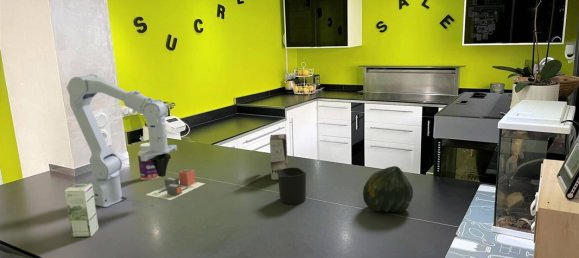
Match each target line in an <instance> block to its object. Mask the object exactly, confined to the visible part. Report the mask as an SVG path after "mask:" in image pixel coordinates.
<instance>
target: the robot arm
mask: <svg viewBox="0 0 579 258" xmlns="http://www.w3.org/2000/svg"><path fill="white" fill-rule="evenodd" d="M66 89H67V92H68V95H69V105H70V108H71V111H72V113H73V115H74V117H75V119H76V122H77V123H78V126H79V128H80V130H81V132H82V134H83V137H84V139H85V141H86V143H87V145H88V148H89V149H90V152H91V156H90V158H89V164H90V168H91V170H90V171H91V174H92V176H93V177H95V178H96V179H94V181H92V182H90V184H92V186H93V193H94V200H95V206H99V207H103V208H107V207H110V206H113V205H115V204H117V203H119V202H122V201H125V200H127V199H128V197H125V196H123V192H122V184H121V178H120V170H121V169H122V166H123V162H122V159H121V157H120V156H119V155H118V154H117V153H116V151H115V150H114V149H113V148H111V147H109V145H108V144H107V141H106V138H105V137H104V135H103V132H102V130H101V128H100V125H99V124H98V121H97V119H96V117H95V115H94V113H93V110H92V108H91V105H90V104H91V102H92V100H93V98H94V97H95V96H96V95H97V94H99V93H101V94H105V95H107V96H109V97H112V98H114V99H117V100H119V101H122V102H123V104H124V106H125V107H126V108H129V109H131V110H133V111H136V112H137V113H139V114H141V115H143V118H144V119H146V124H147V131H148V141H149V142H148V143H150V151H148V152H146V153H144V154H142V155H140V157H141V161H147V160H148V159H149V160H150V161H151V162H152V163H153V165H154V167H155V169H156V171H157V174H158V176H160V177H161V178H163V177H166V173H167V169H168V164H169V162H170V160H171V154H169V153H173V152H176V151H178V146H177V144H170V145H168V137H167V125H166V116H165V115H166V114H167V111H168V107H167V105H166V103H165V102H164V101H162V100H161V99H155V100H154V97H151V96H150V97H148V96H146V95H144V94H142V93H141V91H139V90H131V91H127V90H125V89H123V88H121V87H120V86H117V85H116V84H114V83H112V82H110V81H108V80H107V79H105V78H104V77H102V76H98V75H97V74H88V75H83V76H74V77H72V78H70V80H69V81H68V84H67V86H66Z"/></svg>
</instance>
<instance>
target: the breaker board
mask: <svg viewBox="0 0 579 258" xmlns="http://www.w3.org/2000/svg"><path fill="white" fill-rule="evenodd" d="M205 184H206V183H205V182H204V183H203V182H199V181H195V183H194V184H192V185H190V186H185V185H181V187H182V193H181V194H179V195H176V196H174V195H169V194H167V187H165V186H162V187H160V188H158V189H155V190H154V191H151V192H148V193H146V194H145V195H146V196H150V197H155V198H158V199H164V200H169V201H171V200H174V199H176V198H178V197H180V196H182V195H184V194H186V193H189V192H190V191H193V190H195V189H197V188H199V187H201V186H203V185H205ZM179 185H180V179H179Z"/></svg>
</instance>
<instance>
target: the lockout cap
mask: <svg viewBox="0 0 579 258" xmlns="http://www.w3.org/2000/svg"><path fill="white" fill-rule="evenodd" d="M195 172H196V171H195V169H188V168H185V169H183V170H180V171H178V176H179V180H180V185H185V186H190V185H192V184H194V183H195V182H196V173H195Z"/></svg>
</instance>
